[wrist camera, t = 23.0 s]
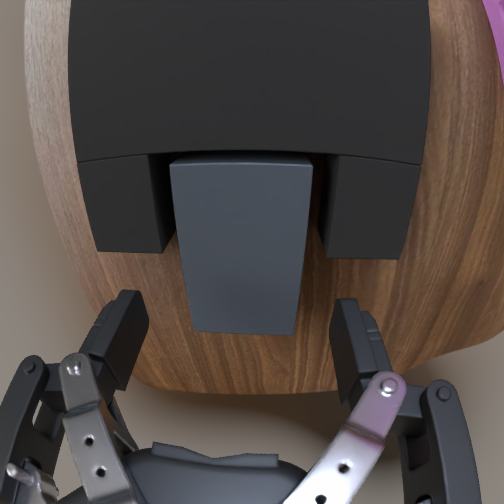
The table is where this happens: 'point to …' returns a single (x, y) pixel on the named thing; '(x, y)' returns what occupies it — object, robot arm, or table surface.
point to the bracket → (497, 26)
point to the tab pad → (242, 237)
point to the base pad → (250, 107)
